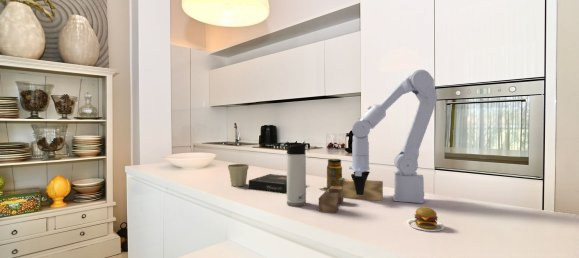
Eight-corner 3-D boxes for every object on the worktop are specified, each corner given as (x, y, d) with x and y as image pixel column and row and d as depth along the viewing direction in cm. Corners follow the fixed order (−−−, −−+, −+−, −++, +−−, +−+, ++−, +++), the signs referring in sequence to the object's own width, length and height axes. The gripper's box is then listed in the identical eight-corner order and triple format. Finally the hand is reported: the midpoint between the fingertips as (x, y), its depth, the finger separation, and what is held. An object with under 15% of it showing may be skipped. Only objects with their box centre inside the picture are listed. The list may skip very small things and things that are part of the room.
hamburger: (409, 217, 86) (409, 198, 86) (456, 227, 78) (456, 206, 78) (393, 229, 77) (393, 208, 77) (444, 241, 69) (444, 217, 69)
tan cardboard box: (343, 201, 101) (343, 186, 101) (335, 213, 89) (335, 196, 88) (328, 200, 103) (328, 185, 103) (318, 211, 90) (318, 194, 90)
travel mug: (305, 207, 95) (305, 144, 94) (285, 206, 96) (284, 144, 96) (308, 201, 101) (307, 142, 101) (289, 201, 102) (288, 142, 102)
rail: (382, 198, 106) (382, 180, 105) (382, 200, 102) (382, 182, 102) (340, 194, 111) (340, 177, 110) (338, 197, 107) (338, 179, 107)
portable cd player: (303, 185, 128) (303, 176, 128) (284, 194, 113) (284, 184, 113) (270, 182, 136) (270, 173, 136) (248, 190, 121) (248, 180, 121)
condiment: (346, 189, 120) (346, 159, 120) (333, 192, 114) (333, 161, 114) (332, 186, 125) (332, 157, 125) (318, 189, 120) (318, 159, 119)
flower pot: (225, 184, 131) (224, 164, 131) (245, 182, 135) (245, 163, 135) (230, 188, 122) (230, 167, 122) (252, 186, 126) (252, 165, 126)
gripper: (351, 152, 114) (352, 187, 115) (346, 156, 101) (346, 196, 101) (371, 153, 112) (371, 189, 112) (367, 157, 98) (367, 198, 99)
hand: (360, 193), depth 106 cm, fingers open, 4 cm apart
